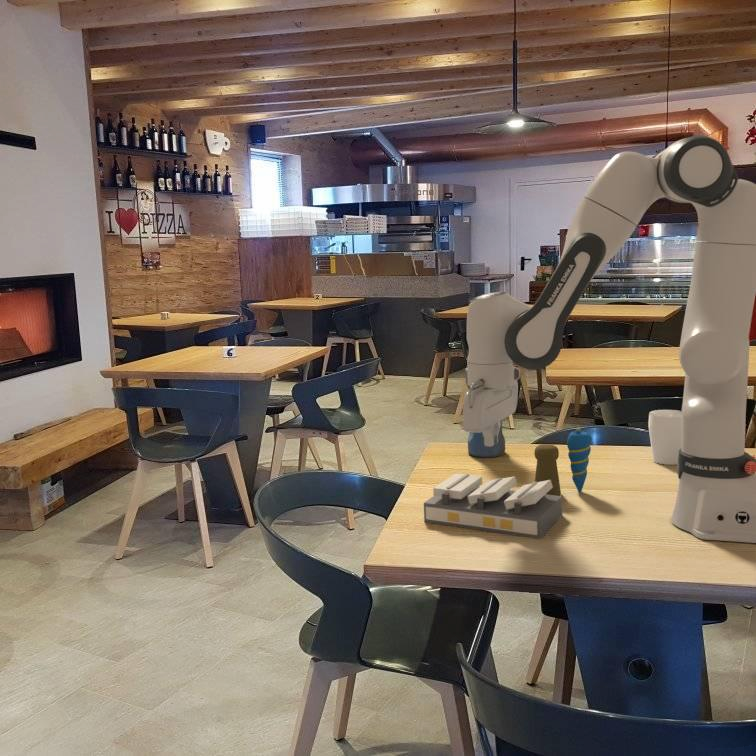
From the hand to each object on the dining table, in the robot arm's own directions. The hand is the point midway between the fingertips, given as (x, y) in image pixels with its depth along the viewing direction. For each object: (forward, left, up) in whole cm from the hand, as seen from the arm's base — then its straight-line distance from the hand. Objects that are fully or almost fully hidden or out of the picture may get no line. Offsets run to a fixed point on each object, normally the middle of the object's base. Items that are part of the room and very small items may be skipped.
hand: (491, 444), depth 158 cm
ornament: (-11, -23, -16) cm, 30 cm away
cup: (-24, -54, -16) cm, 61 cm away
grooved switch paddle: (+7, 0, -9) cm, 12 cm away
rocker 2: (-8, 0, -9) cm, 12 cm away
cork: (-5, -19, -16) cm, 25 cm away
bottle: (+20, -46, -16) cm, 53 cm away
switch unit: (0, 0, -15) cm, 15 cm away
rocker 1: (0, 0, -9) cm, 9 cm away
